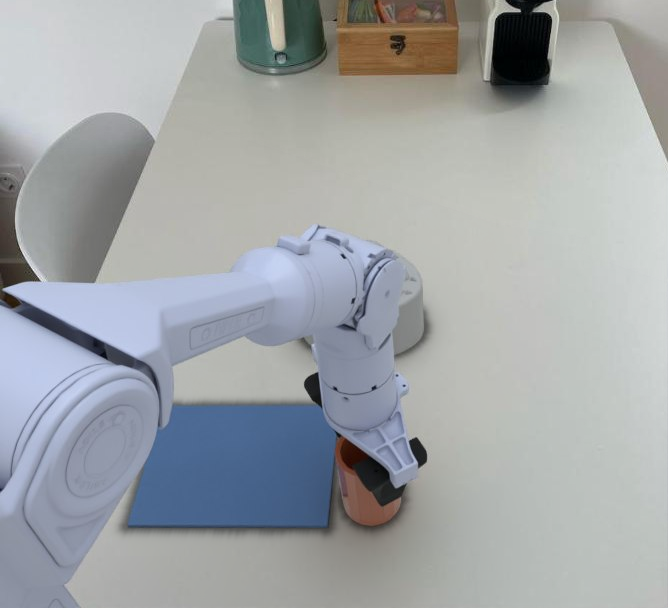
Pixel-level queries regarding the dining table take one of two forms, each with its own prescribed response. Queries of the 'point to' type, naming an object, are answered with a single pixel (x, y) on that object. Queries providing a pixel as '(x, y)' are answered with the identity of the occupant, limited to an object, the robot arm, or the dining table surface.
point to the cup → (359, 488)
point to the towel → (238, 468)
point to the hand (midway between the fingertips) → (368, 464)
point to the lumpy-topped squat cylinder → (405, 309)
